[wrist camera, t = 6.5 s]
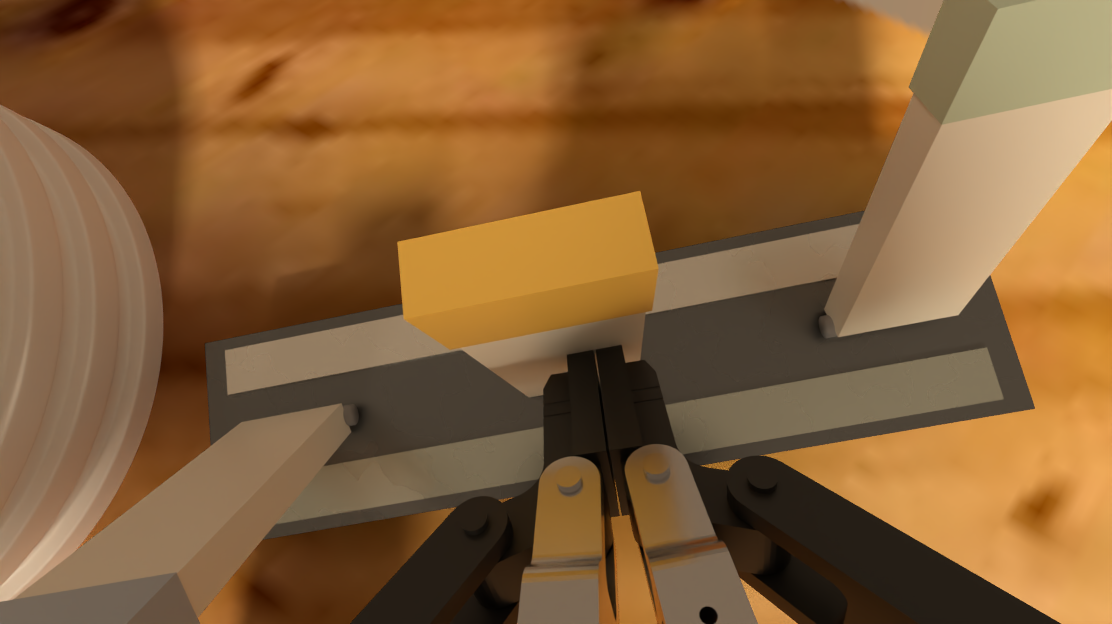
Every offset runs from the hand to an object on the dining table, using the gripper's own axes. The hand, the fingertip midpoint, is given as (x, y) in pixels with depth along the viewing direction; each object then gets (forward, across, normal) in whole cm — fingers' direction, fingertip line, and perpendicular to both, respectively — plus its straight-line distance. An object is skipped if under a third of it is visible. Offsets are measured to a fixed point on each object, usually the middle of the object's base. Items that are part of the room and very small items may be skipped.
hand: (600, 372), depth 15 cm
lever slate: (+4, -12, -3) cm, 13 cm away
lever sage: (+4, +10, -3) cm, 11 cm away
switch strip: (+7, -1, -6) cm, 10 cm away
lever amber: (+4, -1, -3) cm, 5 cm away
